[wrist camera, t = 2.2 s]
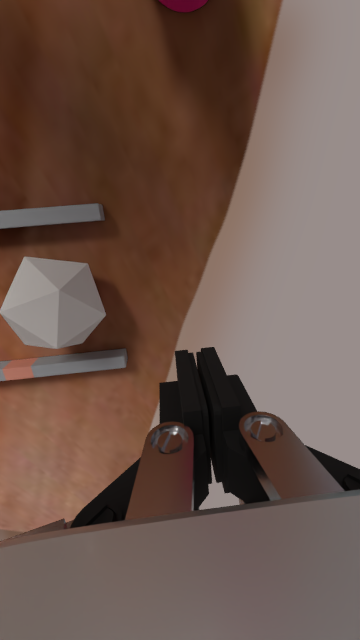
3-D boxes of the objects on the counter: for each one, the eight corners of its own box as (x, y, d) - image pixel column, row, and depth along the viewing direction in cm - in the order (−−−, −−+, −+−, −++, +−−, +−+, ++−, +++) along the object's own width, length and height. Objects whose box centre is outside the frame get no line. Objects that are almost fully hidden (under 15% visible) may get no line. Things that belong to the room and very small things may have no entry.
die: (94, 241, 27) (-12, 232, 19) (139, 308, 25) (44, 328, 18) (63, 290, 31) (-35, 300, 23) (99, 350, 30) (8, 382, 22)
